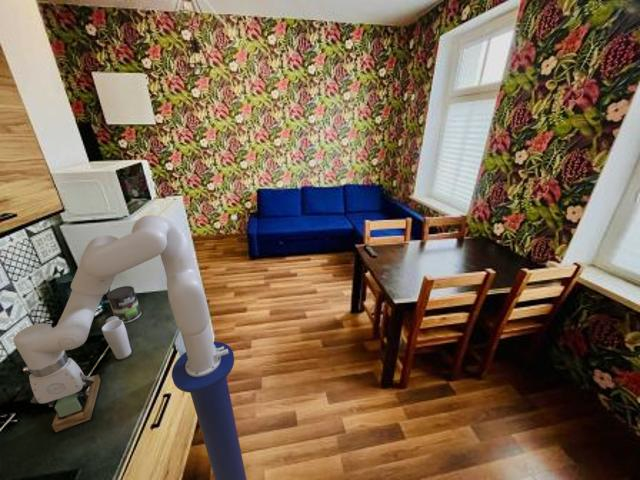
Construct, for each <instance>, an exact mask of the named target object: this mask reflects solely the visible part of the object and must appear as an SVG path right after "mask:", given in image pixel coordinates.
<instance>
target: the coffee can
mask: <svg viewBox="0 0 640 480" xmlns="http://www.w3.org/2000/svg"><path fill="white" fill-rule="evenodd" d="M106 298H107V300H108V302H109V305H110V308H111V311H112V313H113V316H117V317H118V318H119V320H122V321H123V323H124V324H127V323H128V324H129V323H131V322H134V321H135V320H137V319H139V317H141V316H142V311H141V307H140V305H139V300H138V298H137V294H136V291H135V288H134V287H133V286H131V285H123V286H119V287H116V288H114V289H112V290H109V291H108V293H106Z"/></svg>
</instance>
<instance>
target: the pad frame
mask: <svg viewBox="0 0 640 480" xmlns="http://www.w3.org/2000/svg"><path fill="white" fill-rule="evenodd" d="M90 377H92V378H94V379H95V380H94V383H93V384H92V386H91V389H90V392H89V393H86V394H87V396H88V399H87V401H86V402H85V405H84V406H82V409H81V410H80V411H77V412H75V413H72V414H69V415H66V416H63V417H61V418H60V416H59V415H58V414H57V413H56V414H55V416H54V418H53V421H52V424H51V427H52V429H53V430H54V432H55V433H58V432H60V431H63V430H66V429H68V428H71V427H74V426H76V425H79V424H81V423H85V422H87V421H90V420H91V418H92V414H93V410H94V408H95V404H96V399H97V395H98V392H99V390H100V389H99V388H100V385H101V378H100V375H99V374H95V375H91V376H90Z"/></svg>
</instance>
